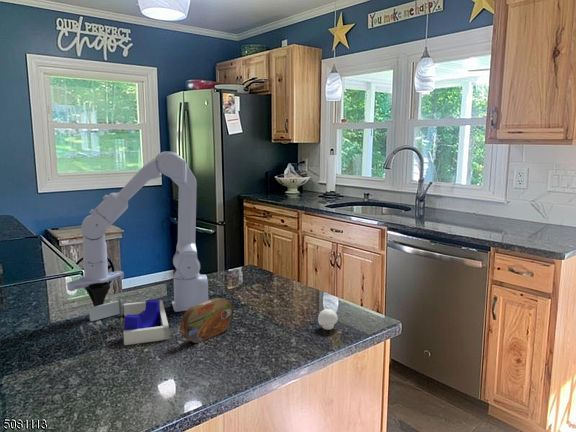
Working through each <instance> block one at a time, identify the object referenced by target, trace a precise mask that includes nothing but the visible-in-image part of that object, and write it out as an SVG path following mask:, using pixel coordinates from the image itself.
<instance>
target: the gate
mask: <svg viewBox="0 0 576 432" xmlns="http://www.w3.org/2000/svg"><path fill="white" fill-rule="evenodd" d="M88 313H89V321H90V322H93V321H98V320H101V319H102V320H103V319H105V318H106V319H107V318H110V317H114V316H117V315H124V309H123V298H119V299H118V300H115V301H112V302H107V303H104V304H102V305H98V306H94V305H93V306H91V307H88Z"/></svg>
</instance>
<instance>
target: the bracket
mask: <svg viewBox="0 0 576 432" xmlns="http://www.w3.org/2000/svg"><path fill="white" fill-rule="evenodd" d="M158 300H159V301H160V326H159V325H157V326H155V327H150V328H142V329H134V330H126V331H125V330H123V345H124V346H128V345H135V344H144V343H151V342H158V341H159V342H160V341H165V340H170V326H169V322H168V317H167V314H166V310H165V306H164V303H163V299H158ZM146 301H147V300H145V301H138V302H129V303H128V302H127V303H123V316H124V317H125V316H127V315H139V314H140V313H141V312H142V311H145V309H146Z"/></svg>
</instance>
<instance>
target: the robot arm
mask: <svg viewBox="0 0 576 432" xmlns="http://www.w3.org/2000/svg"><path fill="white" fill-rule="evenodd" d="M161 174H162V175H164V176H166V177H168V178H170V180H171V181H172V182H173V183H175V185H177V186H178V199H177V200H178V202H177V203H178V208H177V210H178V211H177V215H178V216H177V217H178V219H177V243H176V246H175V247H176V251H175V254H174V255H173V257H172V264H173V266H174V267H175V269H176V270H175V272H174V273H173V297H174V298H173V301H171V305H172V307H173V308H172V309H173V311H174V312H175V313H177V312H186V311H187V310H188V309H189V308H191V307H193V306H195V305H198V304H201V303H203V302H206V301H209V282H208V277H207V274H201V273H200V270H201V262H200V261H199V259H198V250H197V245H196V231H197V230H196V229H197V227H196V225H197V224H196V223H197V222H196V221H197V220H196V219H197V187H198V185H197V184H198V182H197V178H196V177H195V175H194V174H193V171H192V170H191V168H190V166H189V165H188V163H187V162H186V159H184V158H182V156H181V155H180V154H178V153H176V152H174V151H161V152H160V153H158V154H157V155H156V156H155V158H152V159H151V160H149V161H148V162H147V163H145V164H144V165H143V166H142V167H141V168H140V169H139V170H138V172H136V173H135V174H134V176H133V177H131V179H130V180H129V181H128V182H127V183H126V184H125V185H124V186H123V188H122V189H121V190H120V191H119V192H110V193H109V194H104V196H103V197H102V201H101V202H100V203H99V204H98V205H97V206H96V207H95V208H94V209H93V208H91V209H90V210H89V214H90V215H87V216H85V218H83V220H82V222H81V225H80V231H81V233H82V235H83V236H82V242H83V243H82V254H83V255H82V258H83V259H82V260H83V274H84V277H83V276H82V277H81V278H77V279H75V280H72V281H67V282H66V287H67V288H66V289H67V290H66V291H69V292H74V291H76V290H78V289H80V290H81V289H84V290H85V292H86V293H87V294H88V295H89V298H90V300H91V302H92V305H93V307H94V306H98V305H102V304H105V299H106V296H107V295H108V292H109V290H110V289H111V284H110V283H109V282H112V281H116V280H123V279H124V277H125V276H124V271H122V270H117V271H116V270H115V271H110V272H109V268H108V267H109V266H108V245H107V241H106V233H107V227H109V226H112V225H113V224H114V223H115V221H117V220H118V219H119V218H120V217H121V216H122V215H123V214H124V213H125V212H126V211H127V209H128V208H129V201H130V199H132V198H133V196H135V195H136V194H137V193H138V192H139V190H141V189H142V188H143V187H144V186H145V185H146V184H147V183H149V181H151V180H155V179H159V178H161V177H162V175H161Z"/></svg>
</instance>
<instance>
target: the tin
mask: <svg viewBox="0 0 576 432" xmlns="http://www.w3.org/2000/svg"><path fill="white" fill-rule="evenodd" d="M233 318H234V307H233V304H232V302H231V301H230V300H229V299H227V298H221V297H214V298H212V299H208V301H206V302H203V303H201V304H198V305H195V306H193V307H191V308H189V309H188V310H186V311H184V313H183V316H182V318H181V321H180V331H181V335H182V337H184V338H185V339H186V340H187V341H190V342H192V343H194V344H199V343H200V344H201V343H202V342H205V341H206V340H208V339H211V338H213V337H215V336H217V335H220V334H221V333H224V332H226V331H227V330H228V329H229V327H230V326H231V324H232V321H233Z"/></svg>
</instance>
